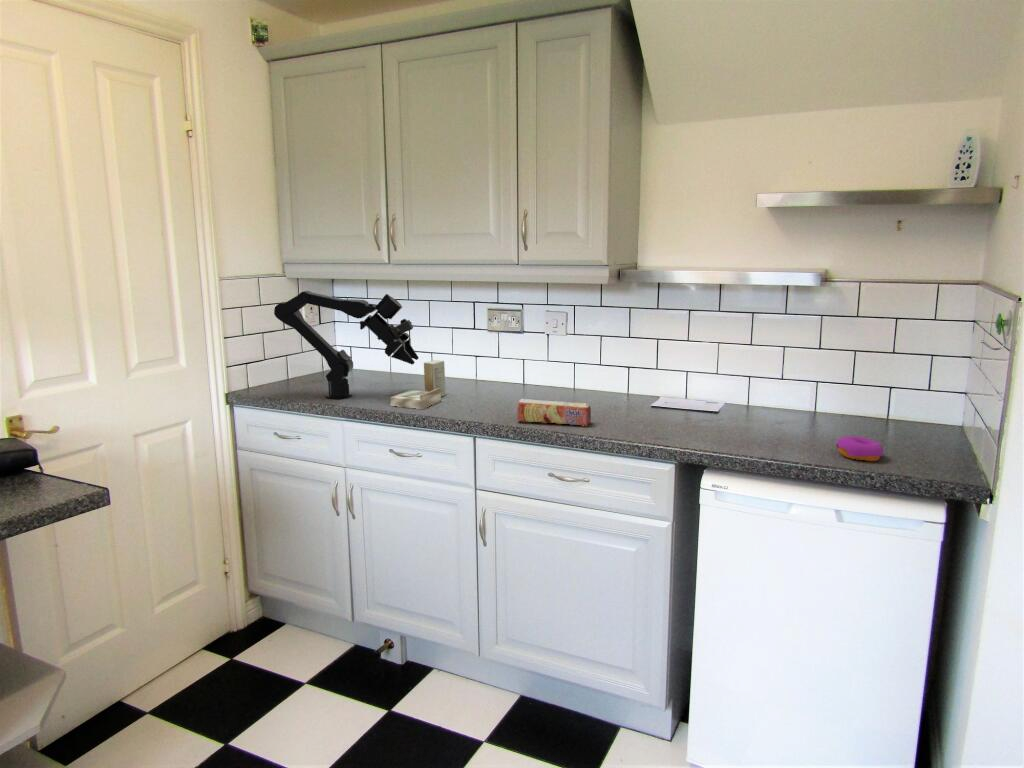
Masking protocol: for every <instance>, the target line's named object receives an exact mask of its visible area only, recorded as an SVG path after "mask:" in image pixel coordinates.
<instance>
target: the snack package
mask: <svg viewBox="0 0 1024 768" xmlns="http://www.w3.org/2000/svg"><path fill="white" fill-rule="evenodd" d="M516 411H517V412H516V413H517V414H516V418H517V422H519V421H524V422H523V423H531V422H542V423H541V424H547V423H556V424H555V425H561V424H570V425H569V426H573V425H582V426H581V427H584V426H586V425H588V426H589V424H590V423H591V418H592V413H591V412H592V409H591V406H590V404H589V403H587V402H586V403H585V402H568V401H559V400H558V401H556V400H540V399H539V400H538V399H529V398H520V399H519V400H518V403H517V409H516ZM583 425H584V426H583ZM586 427H587V426H586Z"/></svg>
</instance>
